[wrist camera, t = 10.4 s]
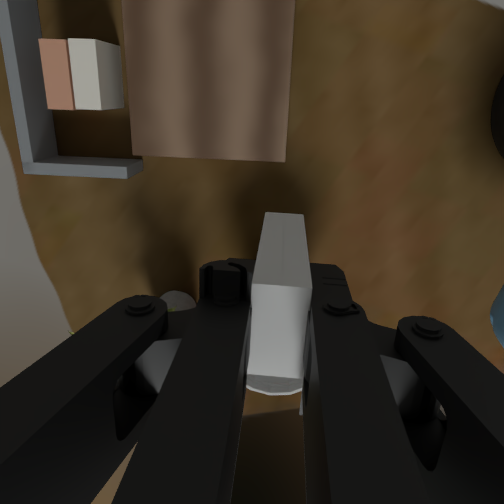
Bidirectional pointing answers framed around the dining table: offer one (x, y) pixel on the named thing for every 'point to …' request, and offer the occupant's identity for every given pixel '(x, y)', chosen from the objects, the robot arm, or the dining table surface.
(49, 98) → the terracotta tile
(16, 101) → the box
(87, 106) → the cream tile
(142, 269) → the dining table surface
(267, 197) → the dining table surface
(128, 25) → the walnut plate
